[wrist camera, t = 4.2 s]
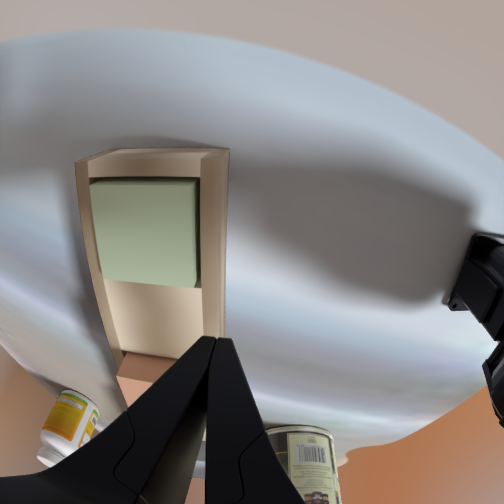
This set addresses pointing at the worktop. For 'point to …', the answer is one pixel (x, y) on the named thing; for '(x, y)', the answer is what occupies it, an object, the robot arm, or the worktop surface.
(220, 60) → the worktop surface
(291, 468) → the coffee can
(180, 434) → the robot arm
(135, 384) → the terracotta key
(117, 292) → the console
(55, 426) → the supplement bottle
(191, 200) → the sage key
